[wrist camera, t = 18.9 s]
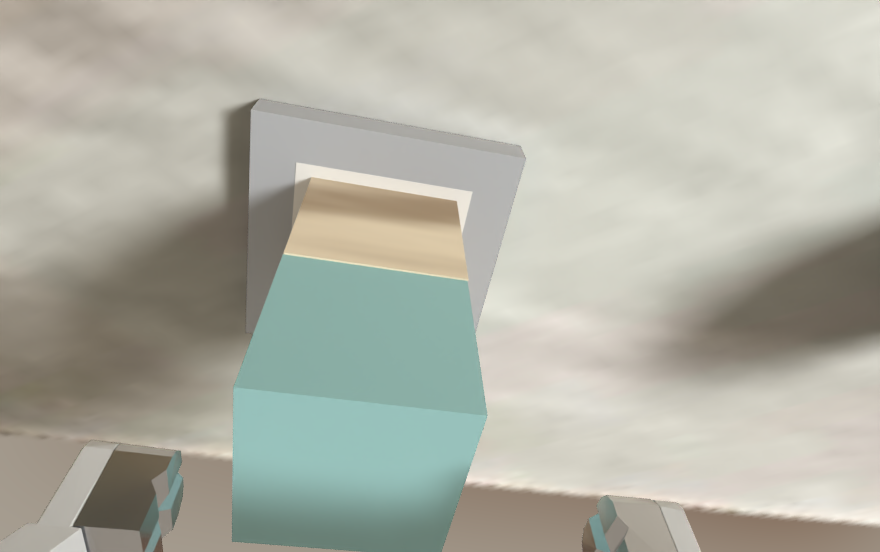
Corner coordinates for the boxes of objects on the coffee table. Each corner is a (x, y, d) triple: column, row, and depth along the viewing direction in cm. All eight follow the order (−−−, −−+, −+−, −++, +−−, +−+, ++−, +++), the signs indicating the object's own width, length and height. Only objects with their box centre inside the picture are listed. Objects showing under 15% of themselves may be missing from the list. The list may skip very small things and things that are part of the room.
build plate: (259, 98, 19) (250, 109, 18) (520, 145, 20) (526, 158, 19) (252, 314, 24) (245, 332, 23) (465, 342, 25) (467, 360, 24)
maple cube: (311, 177, 19) (283, 252, 15) (456, 200, 20) (468, 279, 16) (301, 297, 22) (275, 390, 18) (430, 315, 23) (434, 408, 18)
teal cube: (282, 253, 15) (233, 387, 11) (467, 281, 16) (487, 416, 12) (274, 391, 18) (232, 541, 14) (433, 409, 19) (439, 557, 14)
